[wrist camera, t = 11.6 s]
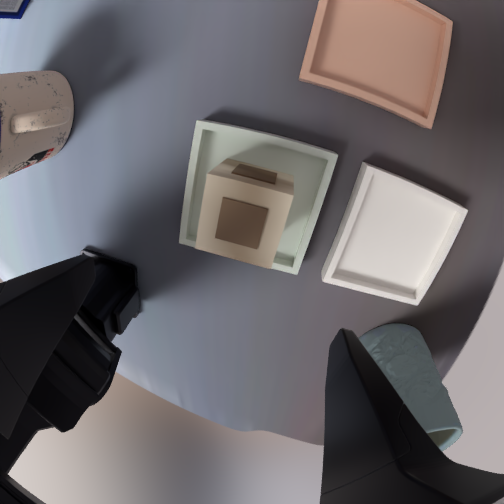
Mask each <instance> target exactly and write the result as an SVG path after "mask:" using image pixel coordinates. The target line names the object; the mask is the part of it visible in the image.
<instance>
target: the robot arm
mask: <svg viewBox="0 0 504 504" xmlns="http://www.w3.org/2000/svg"><path fill="white" fill-rule="evenodd" d="M130 269H131V270H132V271H131V270H130ZM138 309H139V289H138V287H137V269H136V267H135V266H134V265H132V264H130V263H126V262H123V261H120V260H117V259H114V258H111V257H108V256H105V255H102V254H100V253H97V252H94V251H91V250H88V249H83V250H82V251H81V252H80V255H79V256H76V257H73V258H70V259H67V260H64V261H61V262H58V263H55V264H52V265H49V266H46V267H44V268H41V269H38V270H35V271H32V272H29V273H27V274H24V275H21V276H18V277H16V278H13V279H10V280H8V281H7V282H6V281H5V282H2V283H0V504H46V503H44V502H43V501H41V500H40V499H38V498H37V497H36V496H34V495H33V494H31V493H30V492H29V491H27V490H26V489H25V488H23V487H22V486H21V485H20V484H18V483H17V482H16V481H15V480H14V479H12V478H11V477H10V476H9V475H8V473H9V471H10V470H11V468H12V467H13V465H14V464H15V462H16V461H17V459H18V458H19V456H20V455H21V454H22V452H23V451H24V449H25V448H26V447H27V445H28V444H29V442H30V441H31V440H32V438H33V437H34V435H35V434H36V433H37V432H38V431H39V430H44V429H48V428H53V427H55V428H56V429H58V430H59V431H60V432H66V431H68V430H70V429H73V428H74V427H75V425H76V424H77V422H78V420H79V419H80V417H81V416H82V414H83V413H84V412H85V411H86V409H87V408H88V407H89V406H92V405H94V404H95V403H97V402H98V401H99V400H101V399H102V397H103V396H104V395H105V393H106V392H107V390H108V389H109V387H110V385H111V383H112V380H113V377H114V374H115V371H116V368H117V365H118V362H119V359H120V356H121V353H122V351H121V350H120V349H119V348H118V347H116V346H115V345H114V344H113V343H112V340H113V339H114V337H115V336H116V334H119V335H121V334H122V333H123V332H124V330H125V329H126V327H127V326H128V324H129V323H130V321H131V320H132V318H136V317H137V316H138V314H139V312H138ZM403 403H404V401H403V400H402V399H401V397H400V396H399V394H398V393H397V391H396V390H395V389H394V387H393V386H392V384H391V383H390V381H389V380H388V379H387V377H386V376H385V374H384V373H383V372H382V370H381V369H380V367H379V366H378V365H377V363H376V362H375V361H374V359H373V358H372V356H371V355H370V354H369V352H368V351H367V350H366V348H365V347H364V345H363V344H362V343H361V341H360V340H359V339H358V337H357V336H356V335H355V333H354V332H353V331H352V330H349V329H344V328H342V329H340V330H339V331H338V333H337V335H336V336H335V338H334V340H333V341H332V343H331V345H330V348H329V357H328V367H327V376H326V386H325V431H324V455H323V473H322V485H321V486H322V487H321V494H322V495H321V496H320V504H504V474H497V473H492V472H488V471H484V470H479V469H476V468H472V467H468V466H465V465H461V464H458V463H455V462H453V461H452V460H450V459H449V458H447V457H446V456H445V455H444V453H443V452H442V451H441V450H440V448H439V447H438V446H437V445H436V444H435V442H434V441H433V440H432V439H431V437H430V436H429V435H428V434H427V433H426V431H425V430H424V429H423V428H422V426H421V425H420V424H419V422H418V421H417V420H416V418H415V417H414V416H413V414H412V413H411V411H410V410H409V409H408V407H407V406H406V404H405V403H404V404H403Z"/></svg>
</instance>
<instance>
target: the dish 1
mask: <svg viewBox="0 0 504 504" xmlns="http://www.w3.org/2000/svg"><path fill="white" fill-rule="evenodd" d="M227 158H228V159H232V160H236V161H240V162H245V163H249V164H253V165H257V166H260V167H264V168H268V169H272V170H276V171H279V172H283V173H286V174H290V175H293V176H294V197H293V200H292V203H291V207H290V210H289V213H288V216H287V220H286V223H285V226H284V229H283V232H282V236H281V239H280V242H279V245H278V248H277V251H276V255H275V258H274V261H273V264H272V267H271V268H273V269H277V270H280V271H284V272H288V273H292V274H296V275H297V274H298V271H299V268H300V266H301V263H302V260H303V258H304V255H305V252H306V249H307V247H308V244H309V241H310V238H311V236H312V233H313V230H314V227H315V224H316V221H317V218H318V216H319V213H320V210H321V207H322V204H323V201H324V198H325V195H326V192H327V189H328V186H329V183H330V180H331V177H332V173H333V170H334V167H335V164H336V161H337V158H338V154H337V153H336V152H334V151H331V150H328V149H324V148H321V147H318V146H315V145H311V144H308V143H305V142H301V141H298V140H294V139H290V138H287V137H283V136H279V135H275V134H271V133H267V132H263V131H259V130H254V129H250V128H245V127H241V126H236V125H231V124H226V123H221V122H215V121H210V120H204V119H202V120H197V121H196V126H195V132H194V137H193V143H192V149H191V155H190V161H189V167H188V174H187V180H186V187H185V195H184V202H183V210H182V218H181V227H180V236H179V243H180V244H184V245H188V246H191V247H195V245H196V238H197V232H198V225H199V219H200V212H201V206H202V200H203V195H204V189H205V183H206V178H207V173H208V172H210V171H211V170H212V169H214V168H215V167H216V166H217V165H219V164H220V163H221V162H223V161H224V160H225V159H227Z"/></svg>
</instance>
